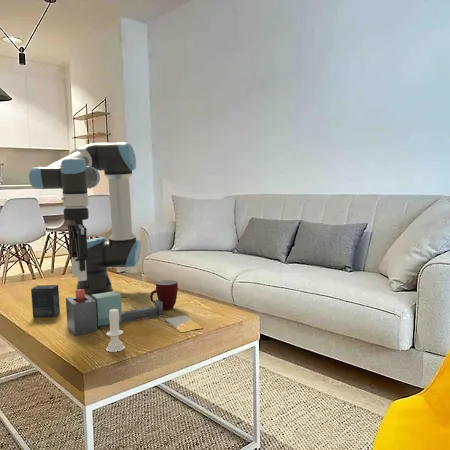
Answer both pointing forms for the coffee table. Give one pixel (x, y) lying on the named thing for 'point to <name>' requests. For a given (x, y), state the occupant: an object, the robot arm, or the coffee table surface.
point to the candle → (114, 332)
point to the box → (45, 300)
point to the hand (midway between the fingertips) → (79, 278)
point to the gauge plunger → (80, 295)
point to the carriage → (106, 306)
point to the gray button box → (81, 315)
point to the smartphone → (177, 320)
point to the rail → (141, 313)
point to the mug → (166, 293)
